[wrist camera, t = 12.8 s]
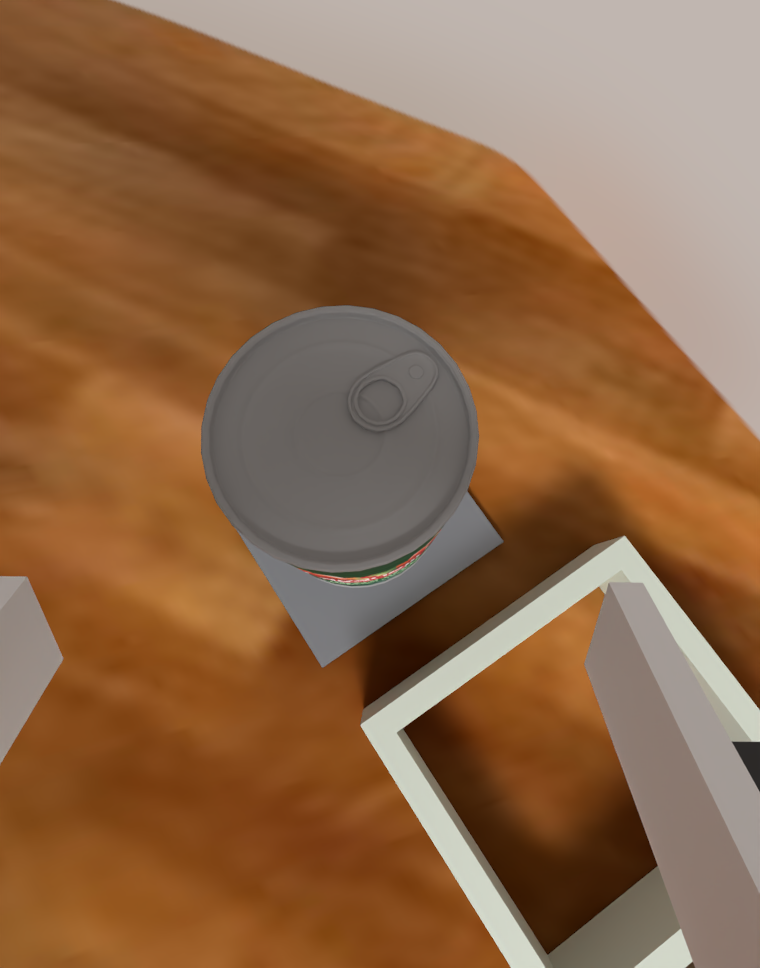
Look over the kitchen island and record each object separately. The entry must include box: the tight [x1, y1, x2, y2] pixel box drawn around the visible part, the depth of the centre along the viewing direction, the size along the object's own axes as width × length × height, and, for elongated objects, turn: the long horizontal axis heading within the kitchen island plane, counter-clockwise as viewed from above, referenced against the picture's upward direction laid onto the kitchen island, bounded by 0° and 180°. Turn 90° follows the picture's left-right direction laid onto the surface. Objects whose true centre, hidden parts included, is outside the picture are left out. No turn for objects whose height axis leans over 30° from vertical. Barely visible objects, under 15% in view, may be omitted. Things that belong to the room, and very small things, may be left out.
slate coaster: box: [236, 492, 504, 668], centre depth 27 cm, size 10×10×1 cm
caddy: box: [360, 536, 760, 968], centre depth 22 cm, size 21×13×4 cm, turn 34°
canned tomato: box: [201, 305, 479, 588], centre depth 21 cm, size 8×8×11 cm
